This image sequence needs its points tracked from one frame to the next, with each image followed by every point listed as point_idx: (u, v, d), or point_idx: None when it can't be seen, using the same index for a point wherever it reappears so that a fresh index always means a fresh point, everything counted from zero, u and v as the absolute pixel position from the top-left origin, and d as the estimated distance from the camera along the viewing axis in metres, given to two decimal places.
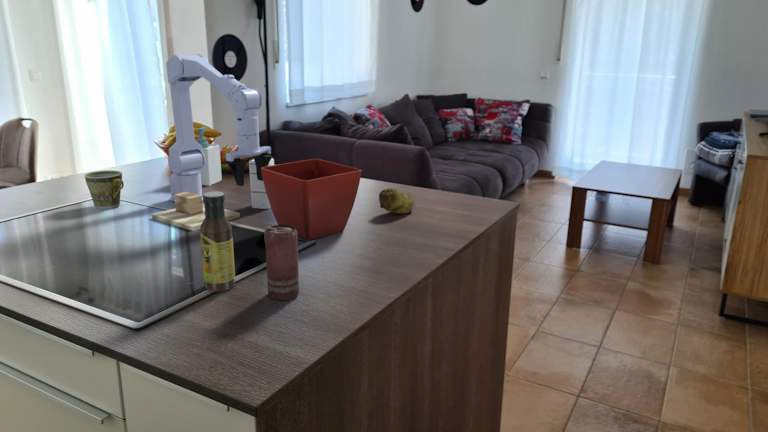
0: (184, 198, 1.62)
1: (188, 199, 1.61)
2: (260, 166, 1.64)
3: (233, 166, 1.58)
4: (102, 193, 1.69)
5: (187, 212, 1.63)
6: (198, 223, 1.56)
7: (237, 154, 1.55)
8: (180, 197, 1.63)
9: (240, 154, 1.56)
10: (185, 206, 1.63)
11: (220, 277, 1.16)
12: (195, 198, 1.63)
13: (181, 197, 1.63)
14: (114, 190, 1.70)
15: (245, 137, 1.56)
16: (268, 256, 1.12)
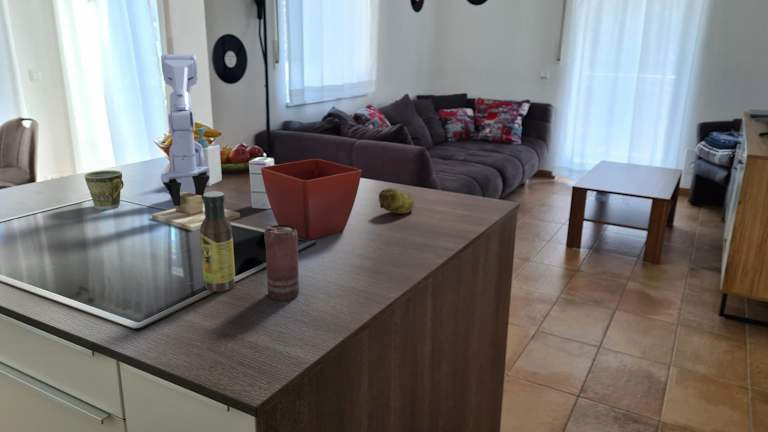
0: (184, 198, 1.62)
1: (188, 199, 1.61)
2: (198, 186, 1.67)
3: (169, 186, 1.60)
4: (102, 193, 1.69)
5: (187, 212, 1.63)
6: (198, 223, 1.56)
7: (172, 175, 1.58)
8: (180, 197, 1.63)
9: (175, 175, 1.58)
10: (185, 206, 1.63)
11: (220, 277, 1.16)
12: (195, 198, 1.63)
13: (181, 197, 1.63)
14: (114, 190, 1.70)
15: (180, 158, 1.59)
16: (268, 256, 1.12)
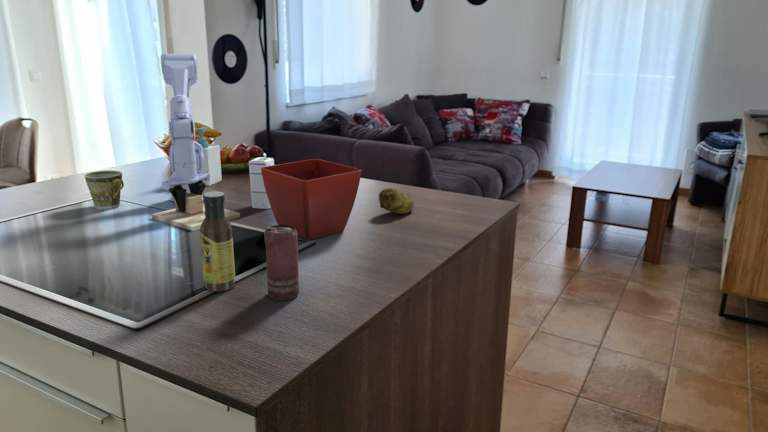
0: None
1: (188, 199, 1.61)
2: None
3: (175, 193, 1.62)
4: (102, 193, 1.69)
5: (187, 212, 1.63)
6: (198, 223, 1.56)
7: (173, 182, 1.58)
8: None
9: (176, 182, 1.59)
10: None
11: (220, 277, 1.16)
12: (195, 198, 1.63)
13: None
14: (114, 190, 1.70)
15: (181, 166, 1.59)
16: (268, 256, 1.12)
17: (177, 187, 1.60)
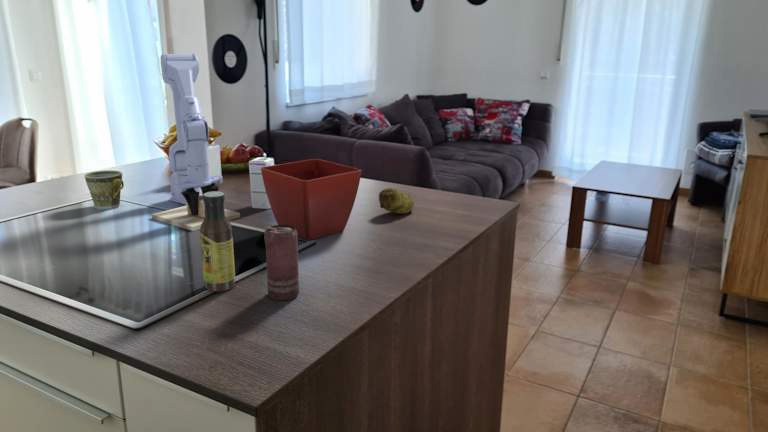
0: None
1: (201, 202, 1.58)
2: None
3: (187, 196, 1.59)
4: (102, 193, 1.69)
5: (200, 216, 1.60)
6: (198, 223, 1.56)
7: (186, 185, 1.55)
8: None
9: (189, 185, 1.56)
10: (198, 210, 1.60)
11: (220, 277, 1.16)
12: None
13: None
14: (114, 190, 1.70)
15: (194, 168, 1.56)
16: (268, 256, 1.12)
17: (190, 190, 1.57)
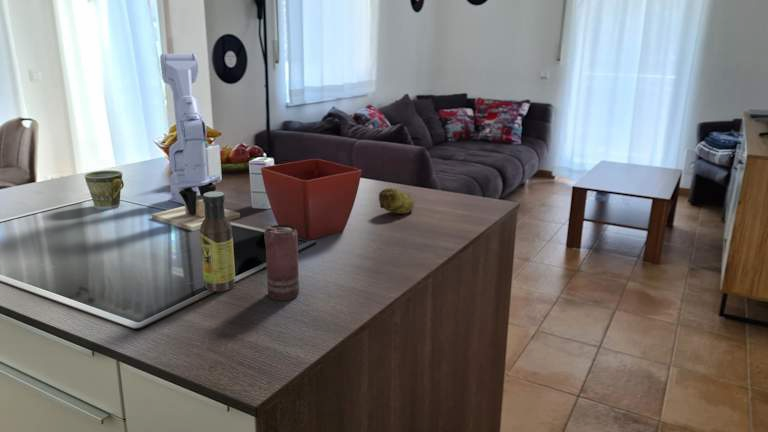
0: None
1: (198, 202, 1.59)
2: None
3: (185, 195, 1.60)
4: (102, 193, 1.69)
5: (198, 215, 1.61)
6: (198, 223, 1.56)
7: (183, 185, 1.56)
8: None
9: (186, 185, 1.56)
10: None
11: (220, 277, 1.16)
12: None
13: None
14: (114, 190, 1.70)
15: (191, 168, 1.57)
16: (268, 256, 1.12)
17: (187, 189, 1.58)
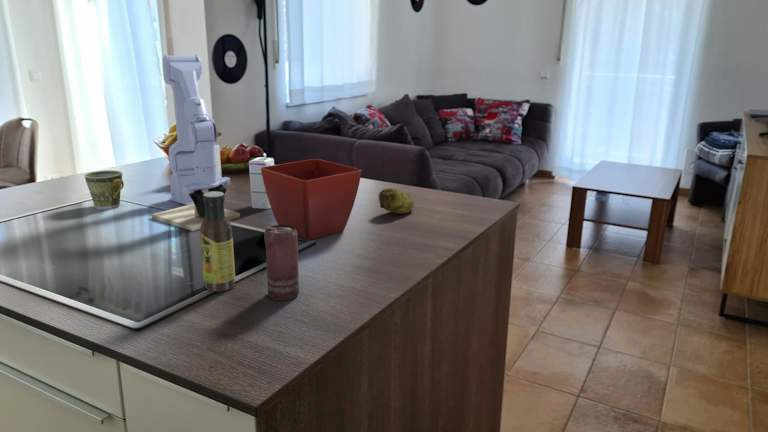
0: None
1: None
2: None
3: (195, 197, 1.57)
4: (102, 193, 1.69)
5: None
6: (198, 223, 1.56)
7: (193, 187, 1.53)
8: None
9: (196, 187, 1.54)
10: None
11: (220, 277, 1.16)
12: None
13: None
14: (114, 190, 1.70)
15: (202, 170, 1.54)
16: (268, 256, 1.12)
17: (197, 192, 1.55)
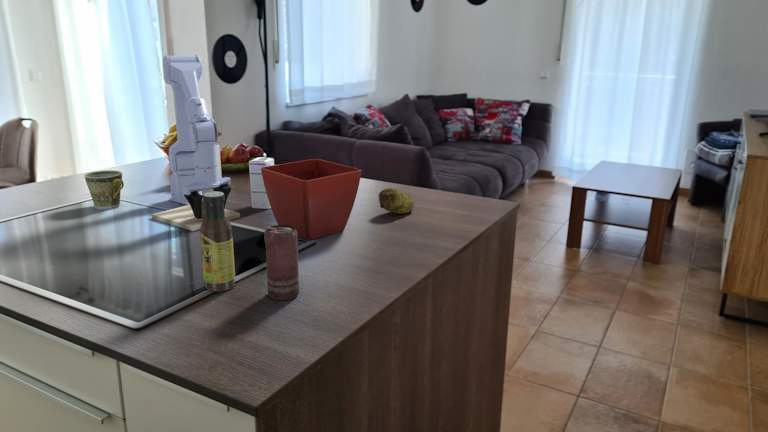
0: None
1: None
2: None
3: (191, 199, 1.56)
4: (102, 193, 1.69)
5: None
6: (198, 223, 1.56)
7: (194, 187, 1.53)
8: None
9: (197, 187, 1.54)
10: None
11: (220, 277, 1.16)
12: None
13: (202, 202, 1.58)
14: (114, 190, 1.70)
15: (202, 170, 1.54)
16: (268, 256, 1.12)
17: (193, 193, 1.54)
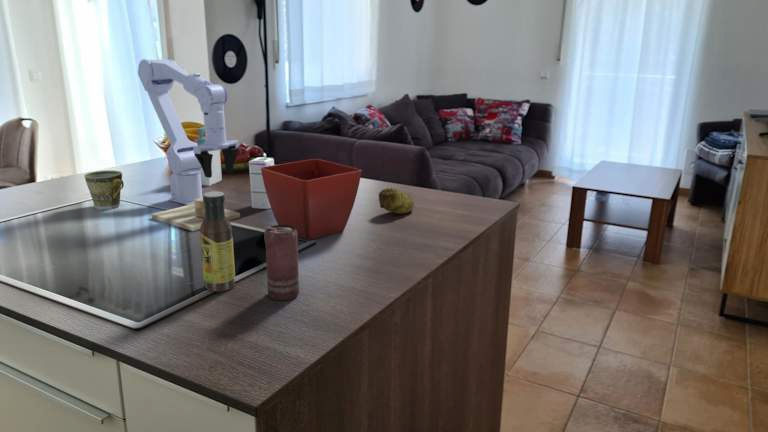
0: None
1: None
2: (228, 159, 1.72)
3: (201, 159, 1.66)
4: (102, 193, 1.69)
5: None
6: (198, 223, 1.56)
7: (204, 147, 1.63)
8: (200, 202, 1.59)
9: (207, 147, 1.63)
10: None
11: (220, 277, 1.16)
12: None
13: (202, 202, 1.58)
14: (114, 190, 1.70)
15: (212, 130, 1.64)
16: (268, 256, 1.12)
17: (203, 152, 1.63)
